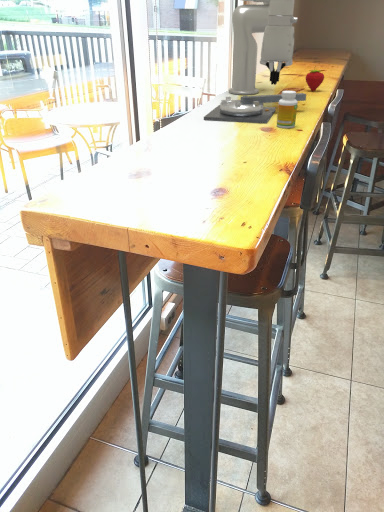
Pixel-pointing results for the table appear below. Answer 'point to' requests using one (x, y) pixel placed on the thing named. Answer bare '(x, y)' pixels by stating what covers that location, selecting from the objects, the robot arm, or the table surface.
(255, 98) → the grey disc with handle
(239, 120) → the plate
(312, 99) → the table surface
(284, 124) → the supplement bottle
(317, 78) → the strawberry
